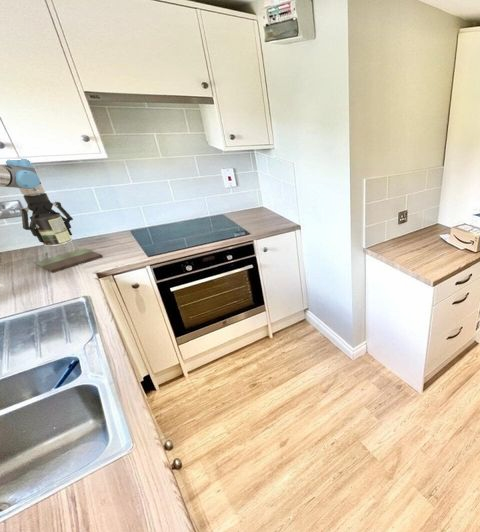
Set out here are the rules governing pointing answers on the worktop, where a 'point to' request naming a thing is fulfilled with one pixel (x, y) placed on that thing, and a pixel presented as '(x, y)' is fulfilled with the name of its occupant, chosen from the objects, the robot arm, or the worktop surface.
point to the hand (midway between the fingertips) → (56, 238)
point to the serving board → (68, 260)
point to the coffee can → (52, 229)
